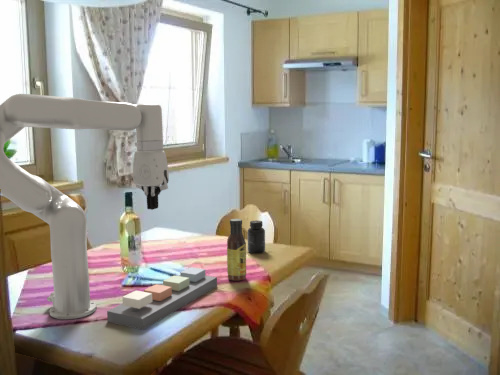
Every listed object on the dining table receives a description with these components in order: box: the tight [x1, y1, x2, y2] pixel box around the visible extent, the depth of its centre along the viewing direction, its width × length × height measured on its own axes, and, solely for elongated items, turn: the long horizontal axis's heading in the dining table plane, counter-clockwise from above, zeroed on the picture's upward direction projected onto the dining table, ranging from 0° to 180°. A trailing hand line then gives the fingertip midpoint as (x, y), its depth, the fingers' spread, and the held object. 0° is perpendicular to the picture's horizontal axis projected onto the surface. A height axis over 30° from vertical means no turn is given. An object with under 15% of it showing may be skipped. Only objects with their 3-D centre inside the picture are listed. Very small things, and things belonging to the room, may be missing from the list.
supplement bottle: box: [247, 220, 266, 255], centre depth 212 cm, size 7×7×12 cm
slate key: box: [179, 266, 206, 282], centre depth 172 cm, size 6×6×2 cm
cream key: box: [122, 290, 152, 309], centre depth 148 cm, size 6×6×2 cm
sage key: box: [162, 274, 189, 291], centre depth 164 cm, size 6×6×2 cm
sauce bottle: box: [226, 218, 247, 282], centre depth 179 cm, size 7×6×20 cm
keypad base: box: [106, 274, 218, 331], centre depth 160 cm, size 12×37×3 cm, turn 152°
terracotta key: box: [143, 283, 172, 301], centre depth 156 cm, size 6×6×2 cm
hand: (152, 208), depth 161 cm, fingers closed
